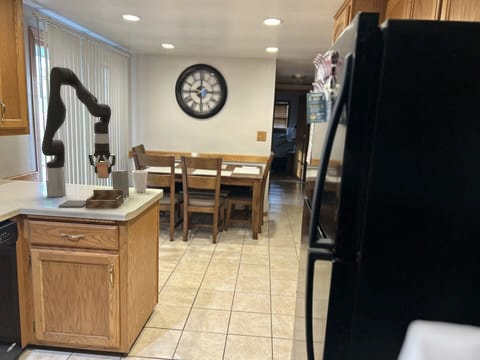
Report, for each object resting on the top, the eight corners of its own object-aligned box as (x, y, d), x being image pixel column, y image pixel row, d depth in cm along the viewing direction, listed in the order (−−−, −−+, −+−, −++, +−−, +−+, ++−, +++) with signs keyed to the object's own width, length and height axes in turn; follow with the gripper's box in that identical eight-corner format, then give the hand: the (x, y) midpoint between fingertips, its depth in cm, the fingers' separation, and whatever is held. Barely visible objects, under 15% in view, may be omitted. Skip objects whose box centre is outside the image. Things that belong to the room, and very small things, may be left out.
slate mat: (58, 207, 179) (58, 205, 179) (67, 202, 191) (67, 200, 191) (82, 207, 181) (82, 205, 180) (90, 202, 192) (90, 200, 192)
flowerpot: (95, 178, 181) (94, 162, 180) (98, 176, 188) (98, 160, 186) (107, 178, 182) (107, 162, 180) (111, 176, 188) (110, 161, 187)
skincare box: (122, 197, 205) (121, 171, 202) (111, 196, 206) (110, 170, 203) (129, 194, 213) (129, 169, 210) (119, 194, 214) (118, 168, 211)
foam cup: (134, 189, 228) (134, 170, 226) (148, 189, 229) (148, 170, 227) (131, 192, 219) (130, 172, 217) (146, 192, 220) (145, 172, 217)
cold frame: (85, 208, 180) (85, 195, 179) (94, 201, 194) (93, 189, 192) (117, 208, 181) (116, 195, 180) (123, 201, 195) (123, 189, 194)
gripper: (85, 142, 177) (86, 174, 180) (114, 143, 179) (115, 175, 182) (90, 141, 184) (91, 172, 187) (117, 142, 186) (118, 172, 189)
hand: (103, 173), depth 185 cm, fingers closed on flowerpot, 5 cm apart
